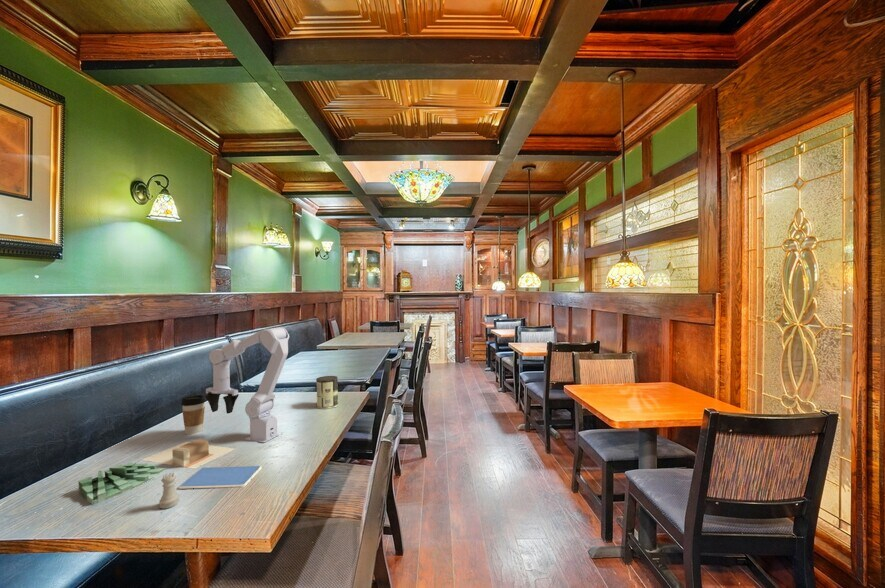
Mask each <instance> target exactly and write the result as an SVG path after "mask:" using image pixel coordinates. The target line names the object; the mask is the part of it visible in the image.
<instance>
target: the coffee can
mask: <svg viewBox="0 0 885 588" xmlns="http://www.w3.org/2000/svg"><path fill="white" fill-rule="evenodd" d="M315 380H316V408H317V409H320V410H329V409H333V408H336V407H338V406H339V399H338V398H339V395H338V394H339V393H338V390H339V389H338V376H336V375H324V376H323V375H322V376H320V377H317V378H315Z"/></svg>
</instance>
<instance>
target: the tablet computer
mask: <svg viewBox="0 0 885 588" xmlns="http://www.w3.org/2000/svg"><path fill="white" fill-rule="evenodd" d="M261 470H262V466H261V465H251V466H250V465H246V466H245V465H244V466H222V467H221V466H219V467H218V466H217V467H216V466H215V467H213V466H211V467H202V468H200V469H198V470H197V471H196V472H195V473H194V474H192V475H191V476H190V477H188V478H187V479H186V480H185V481H183V482H182V483H181V484H180V485H178V487H177V490H187V489H189V490H190V489H191V490H192V489H193V488H194V489H218V488H219V489H220V488H221V489H222V488H225V489H226V488H244V487H246V486H247V485H248V484H249V483H250V482H251V481H252V480H253V478H254V477H256V475H257V474H258V473H259V472H260V471H261Z"/></svg>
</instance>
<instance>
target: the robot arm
mask: <svg viewBox="0 0 885 588" xmlns="http://www.w3.org/2000/svg"><path fill="white" fill-rule="evenodd" d="M289 339H290V334H289V332H288V330H287V329H286V328H285V327H283V326H278V327H273V328H265V329H262V330H259V331H257V332H255V333H253V334H251V335H250V336H248V337H246V338H244V339H243V340H239V339H234V340H233V339H232V340H230V342H229V343H228V344H226V345H225V344H223V345H222V346H221V347H220V348H214V349H212V351H210V352H209V354H208V355H209V356H208V359H209V361H210V363H212V370H213V371H212V376H213V378H212V380H213V381H212V383H213V386H212V387H207V388H205V394H206V395H204V396H205V399H206V400H207V402H208V404H209V407H210V409H211V412H212V413H215V412H218V410H219V400H220V396H221V395H225V396H222V399H223V401H224V402H225V410H226V411H225V412H226V414H230V413H231V414H232V413H233V411H234V406H235V404H236V401H237V399H238V397H239V390H238V389H236V388H232V387H231V379H230V377H231V372H230V370H231V368H230V365H231V361H232V359H235V358H236V357H237V356H239V355H242V354H243V353H245V351H246V349H247V348H250V347H252V346H254V345H257V344H261V345H262V346H264V348H265V349H266V350H267V351H268V352H269V353H270V354H271V357H270V359H269V361H268V363H267V366H266V368H265V371H264V374H263V376H262V380H261V381H260V384H259V386H258V390H256V392H255V393H254V394H253V395H252V396H251V398H250V400H249V401H248V402H247V403H246V404H245V408H244V410H245V414H246V416H247V417H248V418H249V435H250V436H248V437H246V438H244V440H246V441H253V442H258V443H267V442H269V441H270V440H273V439H274V438H276V437H278V436H279V435H280V434H279V433H278V420H277V417H276V416H273V415H272V414H271V412H272V410H273V408H274V406H275V398H276V396H275V394H274V390H275V387H276V385H277V383H278V380H279V377H280V375H281V372H282V370H283V368H284V365H285V363H286V360H287V357H288V355H289Z"/></svg>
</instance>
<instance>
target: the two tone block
mask: <svg viewBox="0 0 885 588" xmlns="http://www.w3.org/2000/svg"><path fill="white" fill-rule="evenodd" d="M189 442H190V441H189ZM209 445H210V444H209V440H205V439H198V438H197V439H195V440H193V441H191V442H190V443H188V444H185V445H183V446H180V447H178V448H175V449H173V450H172V453H173V465H172V466H174V465H177V466H176V467H180V466H183V467H182V468H185V467H184V466H186V465H189V464H191V463H193V462H195V461H197V460H199V459H202V458H204V457H206V456H208V455H209Z"/></svg>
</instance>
